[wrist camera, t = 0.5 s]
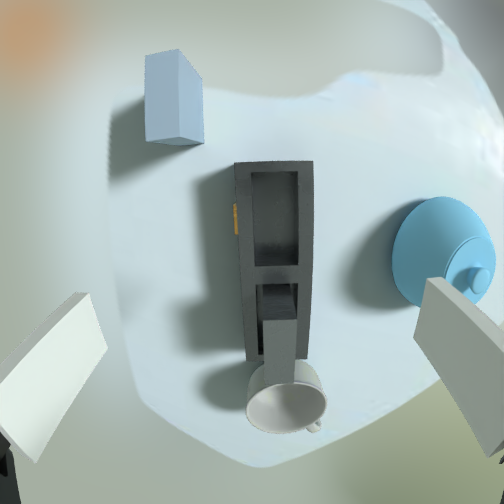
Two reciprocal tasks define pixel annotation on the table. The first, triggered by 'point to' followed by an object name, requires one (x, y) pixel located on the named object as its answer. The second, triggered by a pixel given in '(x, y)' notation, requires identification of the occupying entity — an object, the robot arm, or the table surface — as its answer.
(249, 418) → the teacup
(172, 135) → the panel
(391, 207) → the table surface
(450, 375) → the robot arm
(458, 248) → the sugar bowl
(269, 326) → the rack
